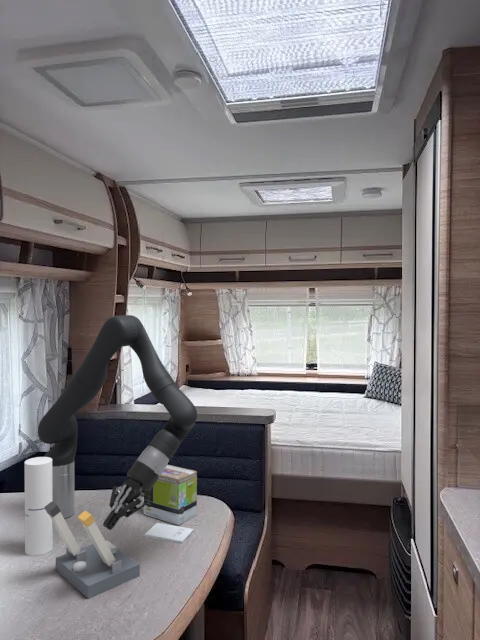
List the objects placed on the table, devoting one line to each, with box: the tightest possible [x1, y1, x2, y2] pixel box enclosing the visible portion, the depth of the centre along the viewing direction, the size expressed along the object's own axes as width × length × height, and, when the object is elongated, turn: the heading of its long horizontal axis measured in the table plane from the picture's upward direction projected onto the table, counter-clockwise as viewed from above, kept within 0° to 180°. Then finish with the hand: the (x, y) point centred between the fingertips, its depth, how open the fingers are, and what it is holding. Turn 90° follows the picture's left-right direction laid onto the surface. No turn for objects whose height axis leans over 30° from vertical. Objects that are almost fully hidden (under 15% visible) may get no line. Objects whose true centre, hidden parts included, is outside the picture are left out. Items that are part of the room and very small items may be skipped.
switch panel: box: [55, 539, 141, 600], centre depth 125 cm, size 18×14×5 cm
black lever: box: [44, 502, 81, 556], centre depth 124 cm, size 4×2×16 cm, turn 45°
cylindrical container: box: [24, 456, 54, 557], centre depth 136 cm, size 7×7×25 cm
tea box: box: [143, 464, 198, 526], centre depth 159 cm, size 15×10×15 cm
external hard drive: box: [144, 522, 195, 545], centre depth 146 cm, size 2×8×12 cm
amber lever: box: [77, 510, 115, 567], centre depth 119 cm, size 4×2×16 cm, turn 44°
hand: (106, 527), depth 121 cm, fingers closed
